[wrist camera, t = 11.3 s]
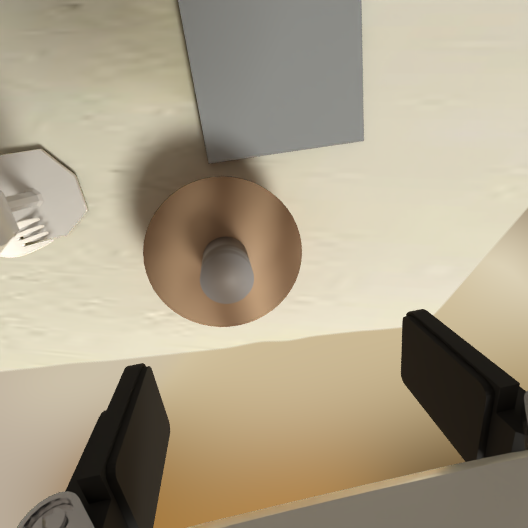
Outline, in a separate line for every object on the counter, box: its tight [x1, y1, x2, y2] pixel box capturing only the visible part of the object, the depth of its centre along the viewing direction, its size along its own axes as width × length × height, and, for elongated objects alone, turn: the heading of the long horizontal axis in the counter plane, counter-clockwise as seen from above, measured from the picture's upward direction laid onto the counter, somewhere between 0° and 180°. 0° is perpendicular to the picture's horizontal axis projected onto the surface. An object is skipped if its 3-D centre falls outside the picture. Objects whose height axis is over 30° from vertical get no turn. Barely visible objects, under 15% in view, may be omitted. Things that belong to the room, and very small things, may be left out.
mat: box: [178, 0, 364, 163], centre depth 29 cm, size 16×16×1 cm
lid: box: [143, 176, 302, 327], centre depth 26 cm, size 14×14×6 cm
